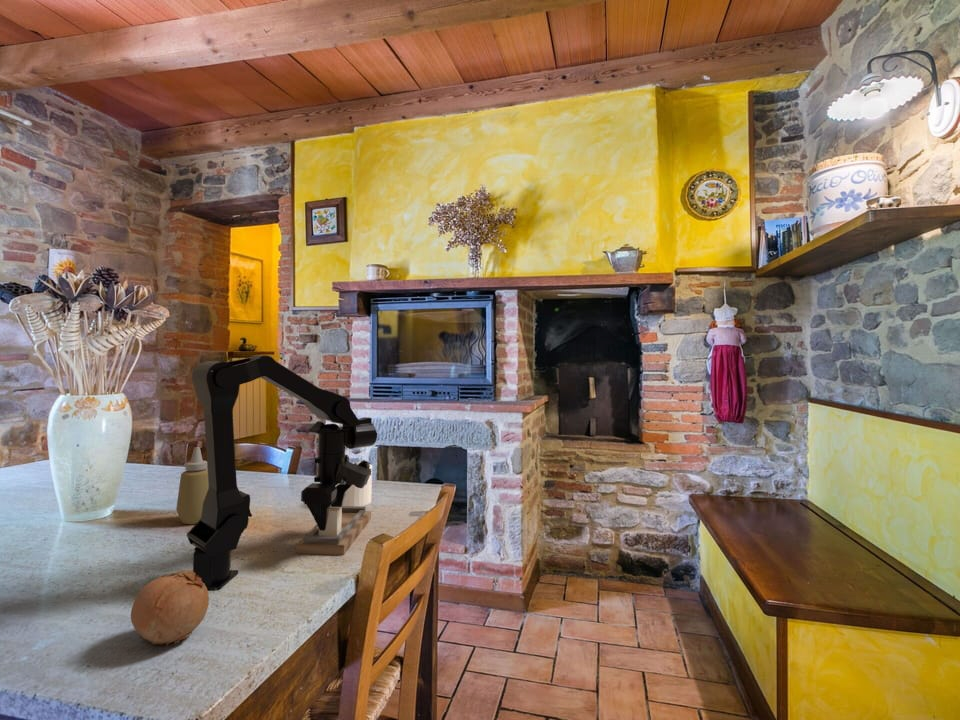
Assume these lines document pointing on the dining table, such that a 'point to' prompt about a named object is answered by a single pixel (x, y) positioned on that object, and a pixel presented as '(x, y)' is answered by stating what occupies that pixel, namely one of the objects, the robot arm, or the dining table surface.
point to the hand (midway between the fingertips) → (330, 522)
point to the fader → (333, 522)
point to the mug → (359, 494)
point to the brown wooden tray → (338, 545)
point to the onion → (170, 607)
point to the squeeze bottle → (193, 489)
